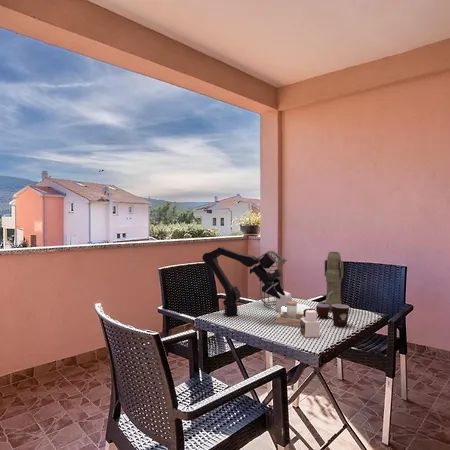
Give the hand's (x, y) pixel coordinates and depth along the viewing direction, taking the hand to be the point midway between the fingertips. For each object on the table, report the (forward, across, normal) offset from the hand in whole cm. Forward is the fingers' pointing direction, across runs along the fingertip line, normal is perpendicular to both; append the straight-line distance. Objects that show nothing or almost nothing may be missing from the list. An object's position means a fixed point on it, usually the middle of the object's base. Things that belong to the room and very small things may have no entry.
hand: (282, 296), depth 190 cm
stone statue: (+25, +34, -6) cm, 43 cm away
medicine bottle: (+22, -16, -3) cm, 27 cm away
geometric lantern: (-1, +28, +20) cm, 34 cm away
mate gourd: (+23, +17, -4) cm, 29 cm away
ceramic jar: (+13, 0, +6) cm, 14 cm away
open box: (+13, 0, +6) cm, 14 cm away
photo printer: (+7, +18, +12) cm, 23 cm away
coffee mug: (+29, +6, -10) cm, 31 cm away
